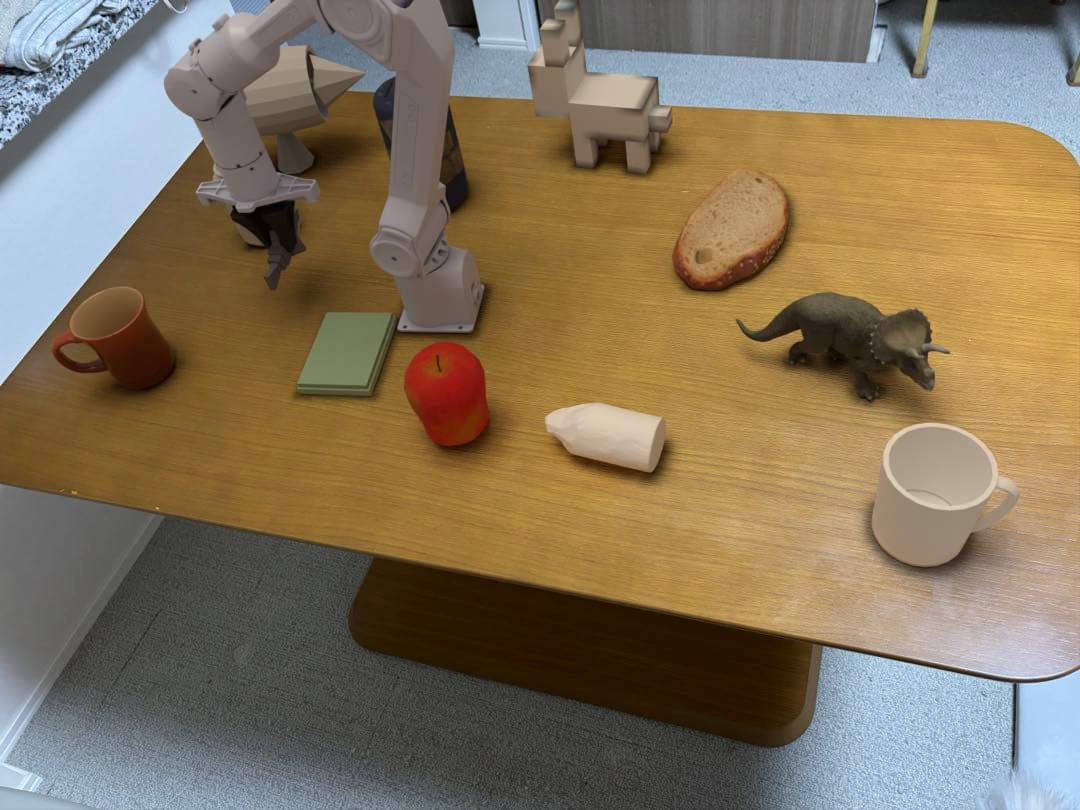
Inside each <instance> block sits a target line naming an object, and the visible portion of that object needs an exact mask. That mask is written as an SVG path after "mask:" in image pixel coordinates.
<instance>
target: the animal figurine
mask: <svg viewBox="0 0 1080 810" xmlns="http://www.w3.org/2000/svg"><path fill="white" fill-rule="evenodd" d="M302 219H303V218H302V216H301V215H300V214H299V208H294V225H295V233H296V238H297V244H296V246H295V248H294V250H293V252H290V253H288V252H287V251H286V249H285V248H284V247H283V246H282V244H281V242H280V240H279V238H278V236H277V234H276V233H275V231H274V230H270V231H269V233H270V238H271V242H272V244H271V247H270V248H269V250H268V251H267V259H266V261H267V263H268V265H269V266H268V270H267V271H266V272H265V274H264V275H263V279H264V281H265V283H266V285H267V287H268V289H269V291H272V292H273V291H275V292H276V291H277V289H278V285H279V282H280V279H281V273H282V272H283V273H284V272H286V271H287V268H288V266H290V265H291V264H290V263H291V260H292V258H293V257H294V256H296V255H299V254H301V253H304V252H306V251H307V250H308V247H307V246H306V244H305V243H304V242H303V240H302V238H301V237H300V231H301V222H302Z"/></svg>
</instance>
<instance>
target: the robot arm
mask: <svg viewBox="0 0 1080 810" xmlns="http://www.w3.org/2000/svg"><path fill="white" fill-rule="evenodd" d="M316 23H318V24H319V26H320V27H321V29H322V30H323V32H325V33H326V34H327V35H329V36H334V34H336V33H337V34H338V35H340V36H341V37H342V38H343V39H344V40H346V41H347V42H349V43H350V45H353V46H354V47H355V48H357V49H358V50H359V51H361V52H362V53H364V54H365V55H366V56H368V57H369V58H371V59H372V60H374V61H375V62H376V63H377V64H379V65H380V66H382V67H383V68H385V69H386V70H387V71H389V72H395V76H396V81H395V97H394V114H393V130H392V146H391V163H390V162H389V163H390V164H389V165H390V166H389V180H388V181H389V182H388V196H387V199H386V201H385V204H384V207H383V210H382V213H381V215H380V218H379V221H378V229H377V232H376V234H375V235H374V236H373V237H372V238H371V240H370V242H369V246H368V250H369V253H370V257H371V258H372V260H373V261H374V263H375V264H376V265H377V267H379V268H380V269H381V270H382V271H383V272H385V273H387V274H389V275H390V276H392V277H393V280H394V283H395V286H396V289H397V292H398V294H399V297H400V300H401V302H402V305H403V310H402V313H401V315H400V318H399V321H398V323H397V326H396V328H397V331H398V332H399V333H451V334H453V333H455V334H456V333H457V334H458V333H459V334H470V333H472V332H473V331H474V328H475V325H476V321H477V318H478V314H479V311H480V307H481V304H482V299H483V296H484V293H485V286H484V285H483V284H482V282H481V277H480V274H479V271H478V266H477V263H476V259H475V256H474V253H473V251H472V250H471V249H466V248H460V247H456V246H454V245H452V244H449V242H448V240H447V237H448V235H447V231H446V229H445V227H446V226H447V225H448V223H449V222H450V219H451V209H450V208H449V206H448V203H447V201H446V197H445V190H446V186H445V185H444V184H442V183H441V182H439V179H440V171H441V162H442V154H443V146H444V138H445V130H446V121H447V113H448V105H449V104H450V96H451V89H452V88H451V87H452V81H453V70H454V62H455V55H456V48H455V42H454V39H453V35H452V33H451V30H450V27H449V24H448V21H447V18H446V15H445V12H444V10H443V7H442V4H441V0H273V1H272V2H271V3H270V4H269V5H267V6H266V7H265V8H264V9H263V10H262V11H261V12H260V13H259V14H254V13H251V12H247V11H240V12H237V13H234V14H233V15H232V16H229V14H227V13H223V14H221V15H220V16H219V17H218V18H217V19H216V20H215V21H214V22H213V23H212V24H211V28H213V30H214V31H212V32H211V33H210V34H209V35H208V36H206V37H205V38H203V39H202V38H200V37H197V38H195V39H194V40H193V41H192V42H191V43H190V44H189V45H188V47H187V48H188V51H187V52H186V53H185V54H184V55H182V57H181V58H180V59H178V61H177V62H176V63H175V64H174V65H173V66H172V67H170V68H168V71H167V74H166V75H165V76H164V78H163V87H164V91H165V94H166V96H167V98H168V99H169V101H170V102H171V103H172V104H173V105H174V106H175V107H176V109H178V110H179V111H180V112H181V113H182V114H184V115H185V116H187V117H190V118H192V120H193V122H194V124H195V126H196V128H197V130H198V132H199V134H200V136H201V138H202V141H204V144H205V146H206V148H207V150H208V152H209V154H210V157H211V158H212V160H213V162H214V163H215V164H216V166H217V168H218V170H219V172H220V174H221V176H222V178H223V179H221V180H216V181H213V180H212V181H204V182H203V181H202V182H201V183H200V184H199V186H198V188H197V189H196V191H195V195H196V197H197V199H198V201H199V202H200V204H201V206H203V207H205V206H210V205H212V204H213V203H223V204H225V203H227V204H231V205H232V208H233V210H232V212H231V214H230V213H229V216H230V218H231V220H232V222H233V223H234V222H236V223H238V224H240V225H241V226H243V227H244V228H246V229H247V230H249V231H250V232H251V233H252V234H253V235H254V236H256V237H257V238H258V239H259V240H260V241H261V242H262V244H263V245H264V246H263V247H264V248H265V249H266V250H268V251H269V248H270V247H271V244H272V242H271V238H270V233H269V231H270V230H274V231H275V233H276V234H277V236H278V238H279V240H280V242H281V244H282V246H283V247H284V248H285V249H286V251H287V252H288V253H290V252H293V250H294V248H295V246H296V244H297V238H296V233H295V225H294V209H296V201H306V202H307V204H310V205H312V204H313V205H314V204H317V202H318V200H319V199H320V197H321V194H322V191H321V189H320V187H319V184H318V182H317V179H311V178H310V179H307V178H302V177H298V176H294V175H291V174H285V173H283V172H279V171H276V168H275V166H274V164H273V162H272V160H271V157H270V155H269V153H268V150H267V147H266V145H265V143H264V142H263V139H262V136H260V135H259V132H258V130H257V128H256V125H255V123H254V121H253V119H252V116H251V114H250V112H249V110H248V107H247V105H246V99H247V96H246V94H245V91H244V89H245V88H246V87H247V86H249V85H250V84H252V83H253V82H254V81H256V80H257V79H258V78H260V77H261V76H263V75H264V74H265V73H267V72H268V71H270V70H271V69H272V68H274V67H275V66H276V65H277V63H278V61H279V58H280V47H281V46H282V45H284V44H285V43H287V42H288V41H289V40H291V39H293V38H294V37H296V36H297V35H299V34H300V33H302V32H303V31H306V29H308V28H310V27H311V26H313V25H314V24H316ZM267 204H268V205H267Z"/></svg>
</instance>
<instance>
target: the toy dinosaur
mask: <svg viewBox="0 0 1080 810" xmlns="http://www.w3.org/2000/svg"><path fill="white" fill-rule="evenodd" d="M735 322H736V324H737V325H738V327H739V329H740V331H741V332H742V333H743V335H744V336H746V337H747V338H749V339H750V340H752V341H754V342H759V343H766V342H767V343H768V342H771V341H773V340H774V339H778V338H780V337H784V336H787V335H789V334H791V333H794V332H797V331H799V330H800V333H801V337H802V339H801V341H800V340H799V341H796V342H795V343H793V344H792V345H791V346H790V348H789V349H788V362H789V364H790V365H791V366H794V365H795V363H796V362H799V363H803V364H805V363H806V362H807V361H806V358H805V357H807V356H808V357H809V355H810V354H811V355H822V354H824V353H825V352H826V354H827V356H828V357H829V358H831V359H833V360H834V361H836V360H837V359H843V360H845V359H846V360H847V359H848V358H852V359H853V362H851V363H850V364H849V365H848V371H849V372H850V373H851V375H852V376H853V378H854V380H855V381H856V383H857V385H858V387H857V390H856V394H858V396H859V398H863V397H865V399H867V400H868V401H871V400H873V397H875V398H877V397H879V396H880V393H879V392H878V390H880V387H879V386H877V385H875V384H874V383H871V381H870V378H869V375H868V373H873V372H875V371H878V370H879V371H880V370H882V369H885V368H886V367H887V366H893V367H895V368H897V369H898V370H899V372H900V373H901V374H903V375H905V376H906V377H909V378H910V379H911V380H912V381H913V383H914V384H917V385H918V386H919V387H920V388H921V389H923V390H924V391H926V392H928V391H929V392H932V391H933V390H934V388H935V384H936V382H935V381H936V373H935V370H934V369H933V368H932V367H931V366H930V364H929V353H931V352H935V353H942V354H945V355H950V354H952V352H951V350H949V349H947V348H945V347H944V346H942V345H940V344H937V343H933V342H932V341H933V339H932V333H933V329H932V328H931V322H930V321H928V315H925V314H924V311H923V310H918V308H917V307H915V308H913V309H912V308H910V307H908V308H906V309H905V310H899V311H898V312H896V313H889V314H888V315H887V314H883V313H882V312H881V310H879V309H878V308H877V307H876V306H875V305H873V304H872V303H870V302H868V301H866V300H865V299H862V298H859V297H856V296H849V295H844V294H840V293H837V292H832V291H824V292H823V291H822V292H817V293H813V294H810V295H806V296H803V297H802V298H799V299H796V300H794V301H792V302H791V303H790V304H788V305H786V307H784V308H783V309H782V310H780V311H779V312H778V313H777V314H776V315H775V316H774V317H773V318H772V319H771V321H770V322H769V323H768V324H767V325H766V326H765V327H763V328H762V329H760V330H759V329H758V330H750V329H749V328H748V327H747V326H746V325H745V324H744V323H743V321H742V320H740V319H739V318H735Z"/></svg>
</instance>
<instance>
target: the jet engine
mask: <svg viewBox="0 0 1080 810" xmlns="http://www.w3.org/2000/svg"><path fill="white" fill-rule="evenodd" d="M366 75H367V72H365V71H363V70H362V71H361V70H359V69H356V68H353V67H349V66H346V65H343V64H341V63H337V62H334V61H331V60H328V59H325V58H322V57H319V56H318V55H317V53H316V51H315V50H314V48H313V47H312V46H311V45H310V44H305V45H304V44H303V45H290V46H289V45H288V46H280V58H279V61H278V63H277V65H276V66H275V67H274V68H272V69H271V70H270V71H268V72H267V73H265V74H264V75H263V76H261V77H260V78H258V79H257V80H256V81H254V82H253V83H252V84H250V85H249V86H247V87H246V88H245V89H244V91H245V94H246V96H247V99H246V105H247V107H248V110H249V112H250V114H251V116H252V119H253V121H254V123H255V125H256V128H257V130H258V132H259V135H260V137H268V136H271V137H272V136H276V150H277V169H278V170H279V171H280V172H281V173H282V174H286V175H292V174H301V173H302V172H304V171H305V170H307V169H309V168H311V167H312V166H313V162H314V159H315V156H314V155H313V154H312V152H311V151H310V150H309V149H308V148H307V147H306V146H305V145H304V143H302V141H301V140H300V139H299V137H297V136H296V135H295V132H298V131H299V132H300V131H302V130H303V131H304V130H307V129H311V128H314V127H317V126H320V125H323V124H326V123H329V122H330V119H331V105H332V104H334V103H335V102H336V101H337V100H339V98H341V97H342V96H343V95H344V94H345V93H346V92H348V90H349V89H352V87H353V86H354V85H355V84H357V82H359V81H360V80H361V79H362V78H364V76H366Z"/></svg>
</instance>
